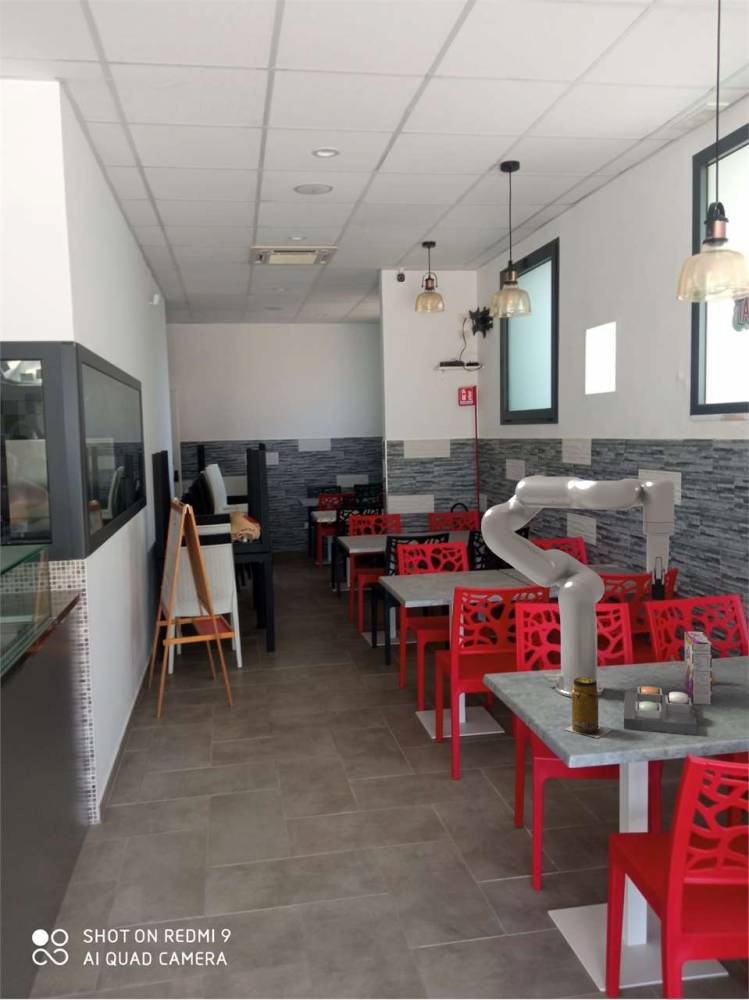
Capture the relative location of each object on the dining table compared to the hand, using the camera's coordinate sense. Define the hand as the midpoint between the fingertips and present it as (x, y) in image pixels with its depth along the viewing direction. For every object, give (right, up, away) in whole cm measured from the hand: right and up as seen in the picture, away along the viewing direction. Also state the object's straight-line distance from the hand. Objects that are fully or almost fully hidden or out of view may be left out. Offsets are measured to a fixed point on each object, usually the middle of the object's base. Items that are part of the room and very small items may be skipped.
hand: (658, 599), depth 200 cm
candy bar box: (+12, -27, +5) cm, 30 cm away
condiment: (-22, -29, -15) cm, 40 cm away
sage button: (-7, -26, -13) cm, 30 cm away
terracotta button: (-3, -25, -2) cm, 25 cm away
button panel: (-3, -28, -8) cm, 29 cm away
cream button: (+1, -24, -10) cm, 26 cm away
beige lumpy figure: (+18, -26, +17) cm, 36 cm away
